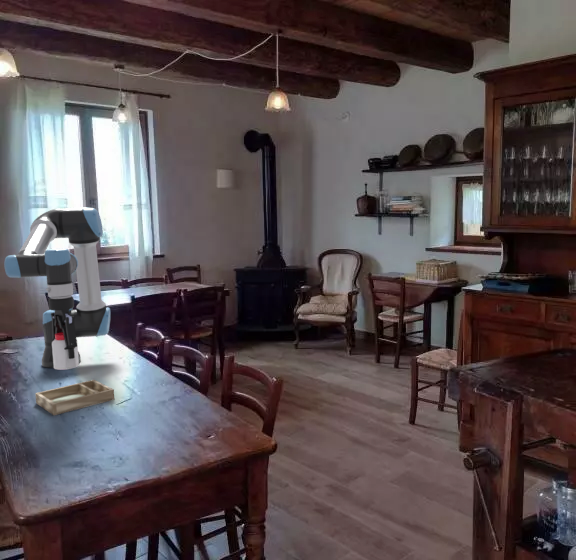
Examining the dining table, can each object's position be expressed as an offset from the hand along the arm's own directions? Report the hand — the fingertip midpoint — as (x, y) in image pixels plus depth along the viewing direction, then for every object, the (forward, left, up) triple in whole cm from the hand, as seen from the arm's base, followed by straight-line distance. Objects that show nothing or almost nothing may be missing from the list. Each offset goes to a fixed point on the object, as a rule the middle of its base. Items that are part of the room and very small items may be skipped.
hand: (66, 365), depth 185 cm
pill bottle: (0, 0, 0) cm, 0 cm away
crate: (0, +2, -13) cm, 13 cm away
